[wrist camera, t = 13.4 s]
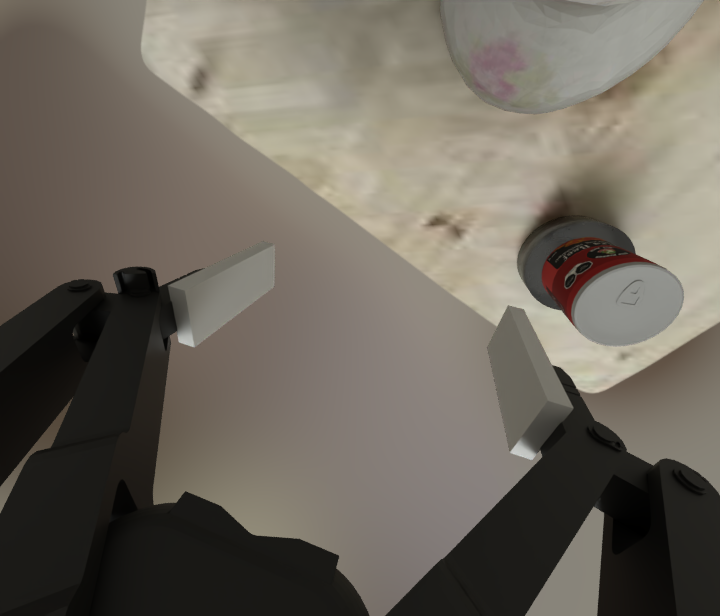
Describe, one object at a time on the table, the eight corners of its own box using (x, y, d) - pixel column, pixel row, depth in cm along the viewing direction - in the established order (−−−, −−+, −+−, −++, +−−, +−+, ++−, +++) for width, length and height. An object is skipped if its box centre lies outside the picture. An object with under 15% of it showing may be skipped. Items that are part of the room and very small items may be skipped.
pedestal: (542, 205, 36) (555, 210, 32) (634, 229, 35) (660, 238, 31) (503, 281, 42) (509, 295, 37) (580, 305, 40) (596, 322, 36)
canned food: (620, 230, 31) (697, 258, 22) (610, 296, 34) (673, 346, 25) (540, 240, 34) (578, 269, 24) (538, 301, 37) (570, 348, 27)
